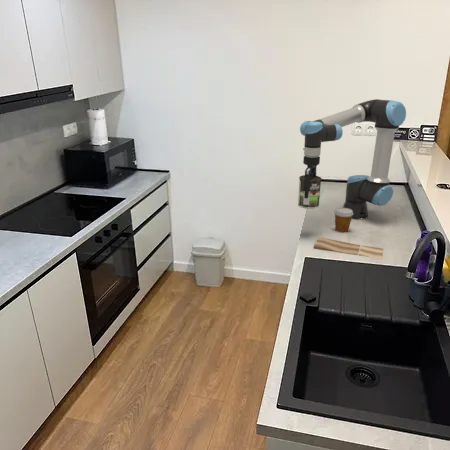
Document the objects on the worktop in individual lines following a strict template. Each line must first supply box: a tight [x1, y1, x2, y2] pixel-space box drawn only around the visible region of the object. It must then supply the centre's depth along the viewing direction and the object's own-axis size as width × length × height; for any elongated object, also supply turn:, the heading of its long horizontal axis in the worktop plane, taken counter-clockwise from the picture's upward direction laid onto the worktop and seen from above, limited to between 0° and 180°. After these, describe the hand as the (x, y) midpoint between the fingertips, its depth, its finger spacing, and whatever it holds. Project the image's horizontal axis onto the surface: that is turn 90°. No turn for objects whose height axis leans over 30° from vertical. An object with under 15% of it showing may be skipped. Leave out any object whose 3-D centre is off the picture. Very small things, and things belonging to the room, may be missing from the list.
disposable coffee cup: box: [334, 207, 353, 233], centre depth 221 cm, size 10×10×12 cm
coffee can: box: [297, 174, 322, 210], centre depth 207 cm, size 10×10×14 cm
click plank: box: [313, 236, 361, 256], centre depth 202 cm, size 12×20×1 cm, turn 68°
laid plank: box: [358, 244, 384, 260], centre depth 197 cm, size 12×10×1 cm
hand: (308, 201), depth 208 cm, fingers closed on coffee can, 10 cm apart
